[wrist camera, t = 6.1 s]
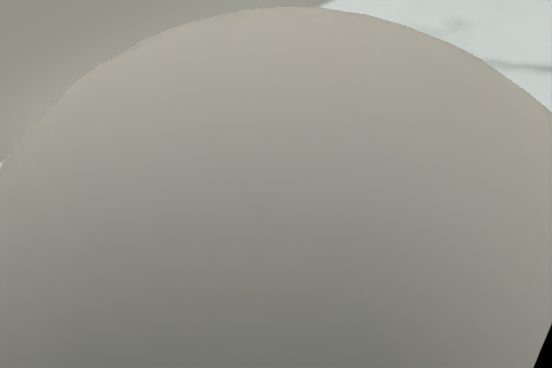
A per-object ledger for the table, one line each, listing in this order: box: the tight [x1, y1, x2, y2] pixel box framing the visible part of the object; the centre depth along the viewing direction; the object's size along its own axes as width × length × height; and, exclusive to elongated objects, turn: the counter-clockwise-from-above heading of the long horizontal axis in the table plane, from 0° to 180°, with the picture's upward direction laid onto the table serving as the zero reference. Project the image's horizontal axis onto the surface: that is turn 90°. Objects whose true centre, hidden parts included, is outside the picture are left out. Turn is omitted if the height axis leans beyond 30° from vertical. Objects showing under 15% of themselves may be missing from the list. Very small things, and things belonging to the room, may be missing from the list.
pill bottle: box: [0, 6, 552, 368], centre depth 9 cm, size 8×7×14 cm
